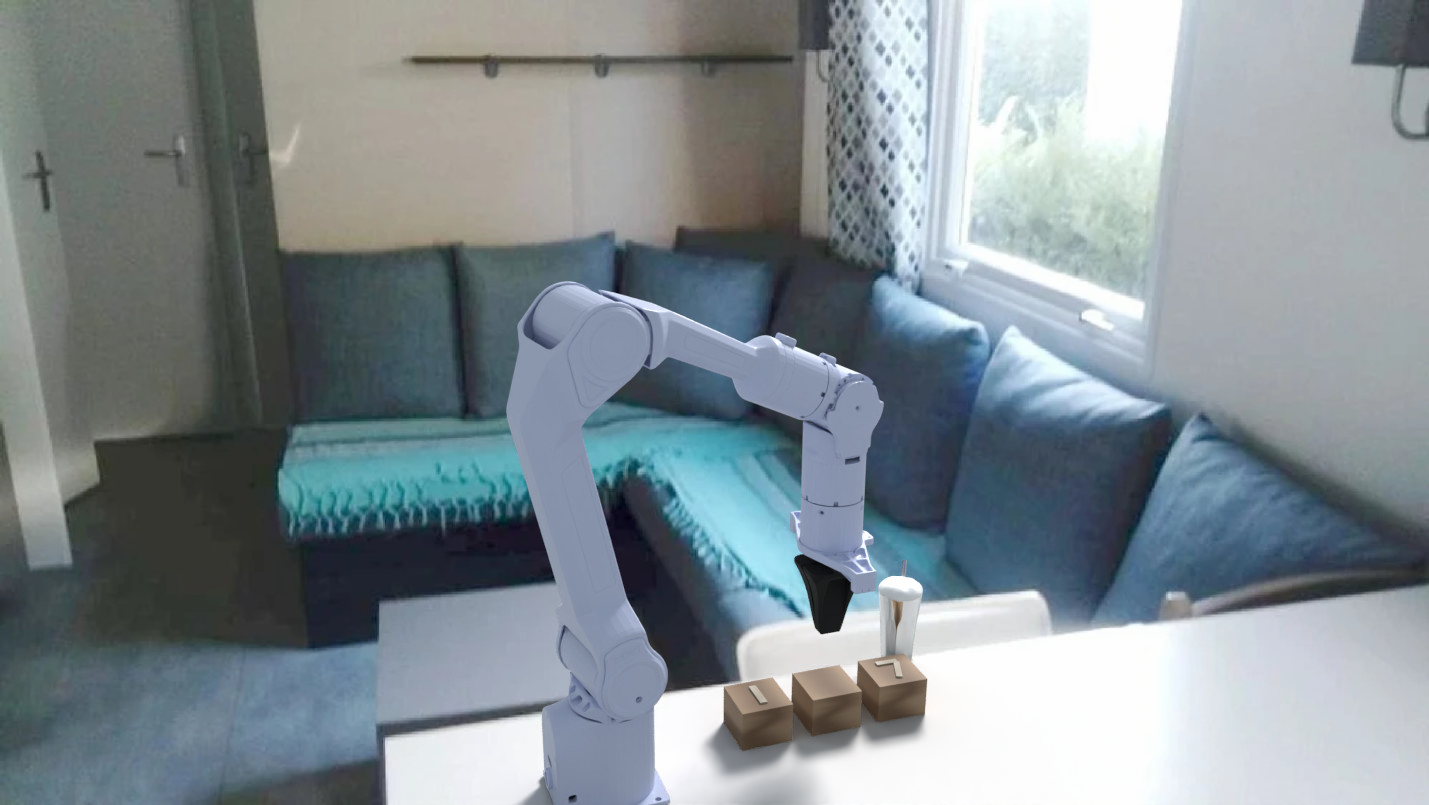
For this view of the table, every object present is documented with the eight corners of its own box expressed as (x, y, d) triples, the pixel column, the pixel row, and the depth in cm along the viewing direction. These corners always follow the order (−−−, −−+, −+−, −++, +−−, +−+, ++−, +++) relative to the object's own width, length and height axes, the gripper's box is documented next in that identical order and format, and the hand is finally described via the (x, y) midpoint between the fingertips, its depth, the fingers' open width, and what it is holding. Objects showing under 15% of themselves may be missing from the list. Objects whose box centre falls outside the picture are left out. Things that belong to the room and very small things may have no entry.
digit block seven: (877, 724, 110) (879, 685, 109) (856, 696, 114) (857, 659, 113) (924, 715, 111) (927, 677, 110) (901, 688, 116) (903, 652, 115)
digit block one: (742, 752, 105) (742, 712, 104) (723, 723, 110) (723, 685, 109) (792, 742, 107) (793, 702, 106) (771, 713, 111) (772, 676, 110)
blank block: (811, 737, 108) (813, 700, 106) (791, 709, 112) (792, 673, 111) (860, 728, 109) (862, 691, 108) (837, 700, 114) (839, 664, 113)
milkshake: (921, 647, 124) (926, 562, 120) (915, 672, 119) (921, 584, 116) (878, 641, 125) (883, 557, 122) (871, 665, 120) (876, 578, 117)
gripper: (911, 519, 98) (902, 660, 103) (838, 463, 112) (833, 589, 116) (836, 530, 96) (830, 673, 100) (771, 471, 109) (768, 600, 113)
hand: (827, 629), depth 108 cm, fingers closed
